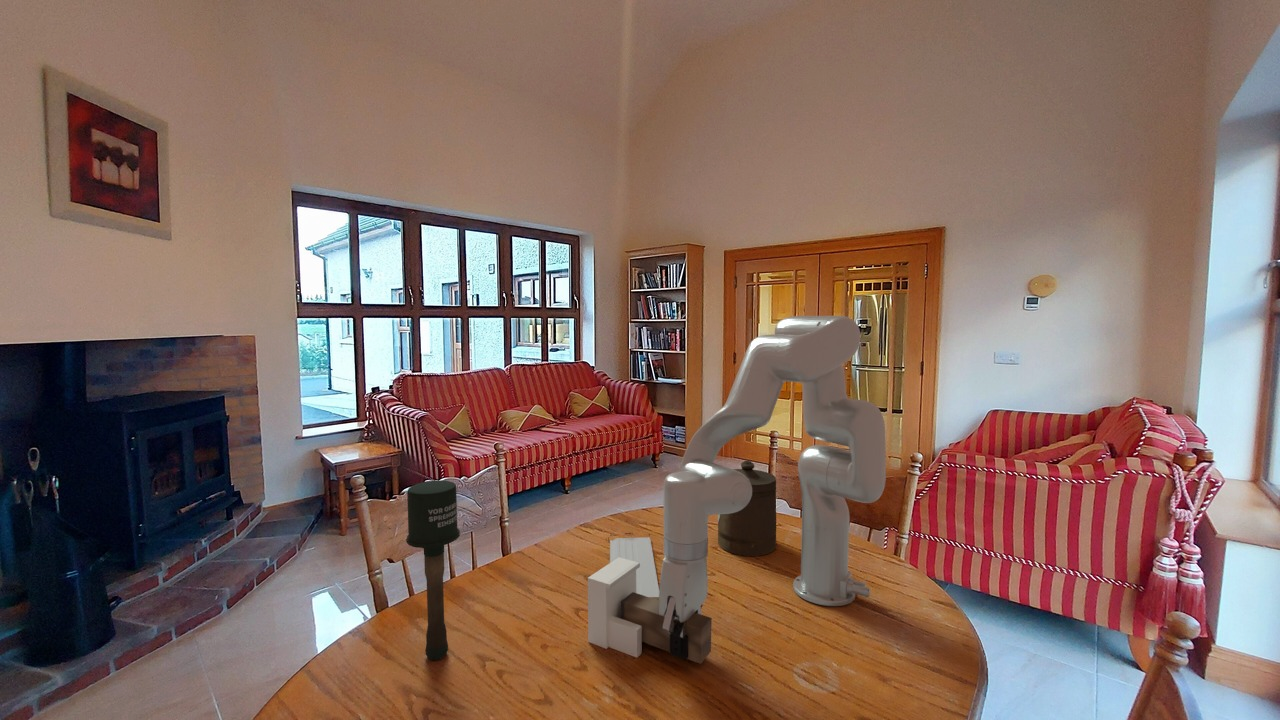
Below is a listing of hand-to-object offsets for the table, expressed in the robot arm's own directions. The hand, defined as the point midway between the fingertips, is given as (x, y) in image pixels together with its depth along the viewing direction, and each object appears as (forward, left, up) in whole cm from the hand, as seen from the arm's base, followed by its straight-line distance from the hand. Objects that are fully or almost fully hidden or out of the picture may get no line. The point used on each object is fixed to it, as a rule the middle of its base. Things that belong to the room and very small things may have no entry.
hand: (685, 648), depth 93 cm
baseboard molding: (+27, -24, -3) cm, 36 cm away
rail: (+4, 0, 0) cm, 4 cm away
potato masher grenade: (+37, +22, -2) cm, 43 cm away
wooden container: (+8, -51, -2) cm, 52 cm away
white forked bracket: (+12, 0, -2) cm, 12 cm away
